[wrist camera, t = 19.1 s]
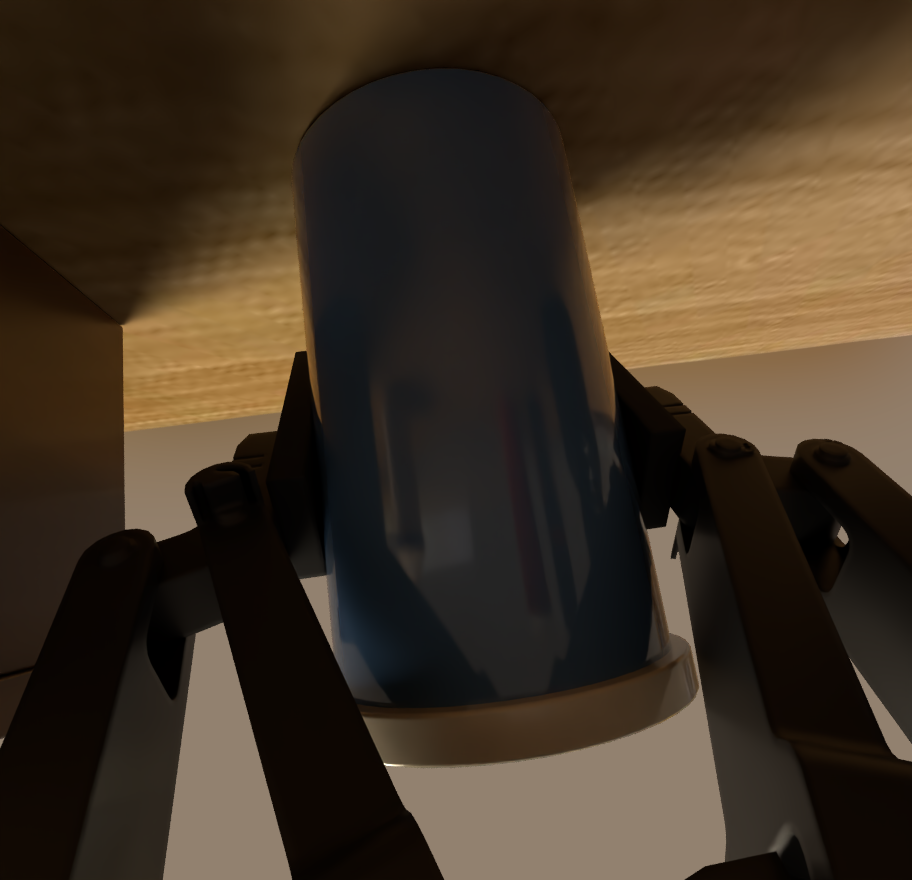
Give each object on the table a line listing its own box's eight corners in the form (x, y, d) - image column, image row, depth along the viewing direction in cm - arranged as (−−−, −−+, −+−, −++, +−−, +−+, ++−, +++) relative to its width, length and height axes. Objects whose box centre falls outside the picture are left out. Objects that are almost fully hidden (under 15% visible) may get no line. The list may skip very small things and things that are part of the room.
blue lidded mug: (322, 313, 21) (356, 671, 18) (233, 59, 11) (282, 808, 8) (522, 294, 22) (585, 633, 19) (624, 42, 11) (795, 712, 9)
